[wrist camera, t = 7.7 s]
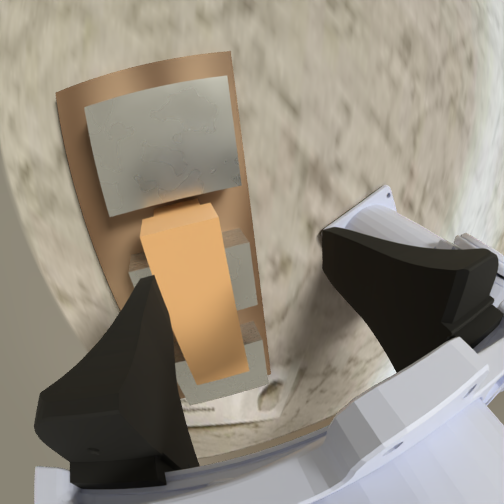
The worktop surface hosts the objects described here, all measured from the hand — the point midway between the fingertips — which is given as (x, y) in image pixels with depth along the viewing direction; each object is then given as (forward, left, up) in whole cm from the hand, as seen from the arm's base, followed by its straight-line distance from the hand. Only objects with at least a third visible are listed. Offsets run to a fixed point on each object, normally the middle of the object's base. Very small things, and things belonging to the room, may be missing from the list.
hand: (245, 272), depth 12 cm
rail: (-3, +4, -10) cm, 11 cm away
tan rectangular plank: (-3, +4, -9) cm, 10 cm away
